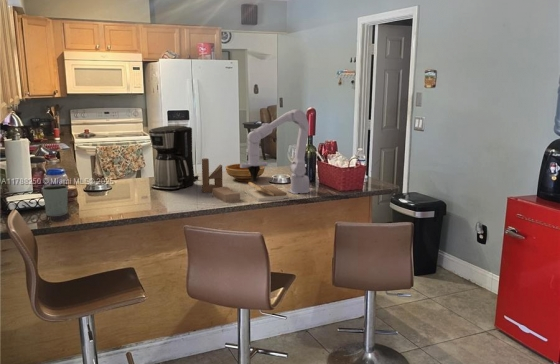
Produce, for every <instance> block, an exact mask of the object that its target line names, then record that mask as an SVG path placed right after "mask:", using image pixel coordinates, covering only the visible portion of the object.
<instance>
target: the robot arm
mask: <svg viewBox="0 0 560 364" xmlns="http://www.w3.org/2000/svg"><path fill="white" fill-rule="evenodd" d="M287 122H293V123H294V124H295V125H296V126H297V127H298V134H297V141H296V148H295V152H294V153H295V154H294V158H292V163H291V164H290V166H289V171H290V172H291V175H290V189H288V190H287V191H288V193H290V194H293V195H299V194H298V193H300V194H309V193H308V192H310V177H309V176H308V175H306V173H307V169H306V161H305V156H306V150H307V146H308V145H307V144H308V143H307V142H308V138H309V131H310V123H309V120H308V118H307V114H306V113H305V112H304V110H301V109H296V108H293V109H290V111H287V112H285V113H283V114H282V115H281V116H279V117H277V118H276V119H275V120H273V121H272V122H270V123H268V122H265V123H261V125H260V126H259V127H257V128H254V129H253V131H250V132H249V133H248V134H247V137H246V139H247V142H248V143H247V144H248V148H247V149H248V150H247V151H248V152H247V153H248V155H247V156H248V159H247V161H248V162H244V163H239V164H240V168H246V167H248V169H249V171H250V174H251V177H252V181H253V182H255V181H257V178H258V177H257V174H258V172H259V170H260V167H261V166H265V167H268V166H269V165H268V164H269V163H268V162H266V161H264V162H263V161H262V162H261V161H260V141H261V139H264V138H265V137H267V136H269V135H271V134H272V133H273V130H274V129H276V128H277V127H279V126H281V125H283V124H284V123H287ZM252 181H251V182H252Z"/></svg>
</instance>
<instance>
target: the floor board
mask: <svg viewBox="0 0 560 364" xmlns="http://www.w3.org/2000/svg"><path fill="white" fill-rule="evenodd" d="M261 187H263V188H265V189H267V190H269V191H270V192H272V193H274V196H272V195H270V194H267V193H265V192H262V191H260V190H258V189H256V188H254V189H253V188H252V189H245V190H244V191H245V194H247V195H248V196H250V197H251V198H253V199H254V200H255V201H258V202H263V201H265V202H266V201H275V199H277V200H285V199H284V198H287V199H288V198H289V195H288V194H287V193H288V192H286V191H284V190H282V189H280V188H279V187H276V186H275V185H265V186H261Z"/></svg>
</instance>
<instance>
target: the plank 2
mask: <svg viewBox="0 0 560 364" xmlns="http://www.w3.org/2000/svg"><path fill="white" fill-rule="evenodd" d="M256 185H257V184H256ZM256 185H255V186H254V187H253V188H254V189H258V190H260V191H262V192H265V193H267V194H270V195H272V196H274V193H272V192H270V191H269V190H266V189H264V188H261V187H262V186H261V187H259V186H260V185H259V186H256Z"/></svg>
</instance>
